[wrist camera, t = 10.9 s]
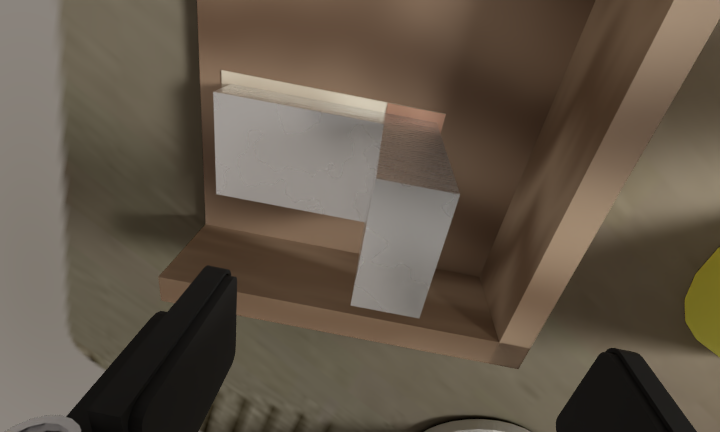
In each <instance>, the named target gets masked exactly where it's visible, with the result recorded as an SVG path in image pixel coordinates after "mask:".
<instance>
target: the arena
mask: <svg viewBox="0 0 720 432" xmlns="http://www.w3.org/2000/svg"><path fill="white" fill-rule="evenodd" d="M197 15H198V41H199V66H200V92H201V118H202V143H203V169H204V195H205V220H206V224H205V225H204V226H203V228H202V229H201V230H200V231H199V232H198V233H197V234H196V235H195V237H194V238H193V239H192V240H191V241H190V242H189V243H188V244H187V245H186V247H185V248H184V249H183V250H182V251H181V252H180V253H179V254H178V255H177V257H176V258H175V259H174V260H173V261H172V262H171V263H170V264H169V266H168V267H167V268H166V269H165V270H164V271H163V272H162V273H161V274H160V276H159V277H158V278H159V286H160V294H161V300H162V301H167V302H172V303H175V302H176V301H177V300H178V299H179V297H180V296H181V295H182V294H183V293H184V291H185V290H186V289H187V288H188V287H189V285H190V284H191V283H192V282H193V280H194V279H195V278H196V277H197V276H198V274H199V273H200V272H201V271H202V269H203V268H204V267H205V266H207V265H209V266H214V267H219V268H224V269H229V270H230V271H231V276H234V277H237V310H236V315H240V316H245V317H250V318H255V319H260V320H266V321H271V322H276V323H281V324H286V325H292V326H297V327H302V328H307V329H312V330H318V331H323V332H328V333H333V334H338V335H344V336H349V337H354V338H359V339H364V340H370V341H375V342H380V343H385V344H391V345H396V346H401V347H406V348H411V349H417V350H422V351H427V352H432V353H437V354H443V355H448V356H453V357H458V358H463V359H469V360H474V361H479V362H484V363H489V364H495V365H500V366H505V367H510V368H515V369H519V367H520V365H521V364H522V362H523V360H524V358H525V357H526V355H527V353H528V351H529V350H530V348H531V346H532V344H533V343H534V341H535V339H536V338H537V336H538V334H539V332H540V331H541V329H542V327H543V325H544V324H545V322H546V320H547V318H548V317H549V315H550V313H551V311H552V310H553V308H554V306H555V304H556V303H557V301H558V299H559V298H560V296H561V294H562V292H563V291H564V289H565V287H566V285H567V284H568V282H569V280H570V278H571V277H572V275H573V273H574V271H575V270H576V268H577V266H578V264H579V263H580V261H581V259H582V257H583V256H584V254H585V252H586V251H587V249H588V247H589V245H590V244H591V242H592V240H593V238H594V237H595V235H596V233H597V231H598V230H599V228H600V226H601V224H602V223H603V221H604V219H605V217H606V216H607V214H608V212H609V211H610V209H611V207H612V205H613V204H614V202H615V200H616V198H617V197H618V195H619V193H620V191H621V190H622V188H623V186H624V184H625V183H626V181H627V179H628V177H629V176H630V174H631V172H632V171H633V169H634V167H635V165H636V164H637V162H638V160H639V158H640V157H641V155H642V153H643V151H644V150H645V148H646V146H647V144H648V143H649V141H650V139H651V137H652V136H653V134H654V132H655V131H656V129H657V127H658V125H659V124H660V122H661V120H662V118H663V117H664V115H665V113H666V111H667V110H668V108H669V106H670V104H671V103H672V101H673V99H674V97H675V96H676V94H677V92H678V91H679V89H680V87H681V85H682V84H683V82H684V80H685V78H686V77H687V75H688V73H689V71H690V70H691V68H692V66H693V64H694V63H695V61H696V59H697V57H698V56H699V54H700V52H701V51H702V49H703V47H704V45H705V44H706V42H707V40H708V38H709V37H710V35H711V33H712V31H713V30H714V28H715V26H716V24H717V23H718V21H719V19H720V0H197ZM230 84H236V85H241V86H246V87H251V88H257V89H262V90H267V91H273V92H278V93H283V94H288V95H294V96H299V97H304V98H310V99H315V100H320V101H325V102H331V103H336V104H341V105H347V106H352V107H357V108H362V109H368V110H373V111H378V112H384V113H389V114H394V115H399V116H405V117H410V118H415V119H421V120H426V121H431V122H436V123H437V125H438V128H439V131H440V134H441V137H442V140H443V143H444V146H445V150H446V153H447V156H448V159H449V162H450V165H451V168H452V171H453V174H454V177H455V180H456V183H457V186H458V189H459V192H460V197H459V200H458V203H457V206H456V209H455V212H454V215H453V218H452V221H451V224H450V227H449V230H448V233H447V236H446V239H445V242H444V245H443V248H442V251H441V254H440V257H439V260H438V263H437V266H436V269H435V272H434V275H433V278H432V281H431V284H430V287H429V290H428V293H427V296H426V300H425V303H424V306H423V309H422V312H421V315H420V318H414V317H409V316H403V315H398V314H393V313H388V312H382V311H377V310H372V309H367V308H361V307H356V306H351V299H352V293H353V287H354V281H355V275H356V269H357V263H358V257H359V251H360V245H361V239H362V234H363V228H364V222H360V221H355V220H350V219H345V218H339V217H334V216H329V215H324V214H318V213H313V212H308V211H303V210H297V209H292V208H287V207H281V206H276V205H271V204H266V203H260V202H255V201H250V200H245V199H239V198H234V197H229V196H224V195H218V194H216V167H215V134H214V101H213V92H214V91H216V90H218V89H221V88H223V87H225V86H227V85H230Z"/></svg>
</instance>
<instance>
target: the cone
mask: <svg viewBox="0 0 720 432" xmlns="http://www.w3.org/2000/svg"><path fill="white" fill-rule="evenodd" d="M685 322H686V324H687V325H688V327H689V328H690V330H691V332H692V333H693V335H694V337H695V338H696V340H698V341H699V342H700V343H702V344H703V345H704V346H706V347H707V348H708V349H709V350H711V351H712V352H713V353H715V354H716V355H717V356H719V357H720V247H719V248H718V249H717V250H716V251H715V252H714V253H713V255H712V256H711V257H710V258H709V259H708V260H707V261H706V263H705V264H704V265H703V266H702V267H701V268H700V269H699V271H698V272H697V273H696V274H695V276H694V279H693V281H692V283H691V286H690V288H689V290H688V293H687V295H686V297H685Z"/></svg>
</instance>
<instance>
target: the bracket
mask: <svg viewBox="0 0 720 432" xmlns="http://www.w3.org/2000/svg"><path fill="white" fill-rule="evenodd" d="M213 101H214V134H215V167H216V194H218V195H224V196H229V197H234V198H239V199H245V200H250V201H255V202H260V203H266V204H271V205H276V206H281V207H287V208H292V209H297V210H303V211H308V212H313V213H318V214H324V215H329V216H334V217H339V218H345V219H350V220H355V221H360V222H364V228H363V234H362V239H361V245H360V251H359V257H358V263H357V269H356V275H355V281H354V287H353V293H352V299H351V306H356V307H361V308H367V309H372V310H377V311H382V312H388V313H393V314H398V315H403V316H409V317H414V318H420V315H421V312H422V309H423V306H424V303H425V300H426V296H427V293H428V290H429V287H430V284H431V281H432V278H433V275H434V272H435V269H436V266H437V263H438V260H439V257H440V254H441V251H442V248H443V245H444V242H445V239H446V236H447V233H448V230H449V227H450V224H451V221H452V218H453V215H454V212H455V209H456V206H457V203H458V200H459V197H460V192H459V189H458V186H457V183H456V180H455V177H454V174H453V171H452V168H451V165H450V162H449V159H448V156H447V153H446V150H445V146H444V143H443V140H442V137H441V134H440V131H439V128H438V125H437V123H436V122H431V121H426V120H421V119H415V118H410V117H405V116H399V115H394V114H389V113H384V112H378V111H373V110H368V109H362V108H357V107H352V106H347V105H341V104H336V103H331V102H325V101H320V100H315V99H310V98H304V97H299V96H294V95H288V94H283V93H278V92H273V91H267V90H262V89H257V88H251V87H246V86H241V85H236V84H230V85H227V86H225V87H223V88H221V89H218V90H216V91H214V92H213Z"/></svg>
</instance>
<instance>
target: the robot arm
mask: <svg viewBox="0 0 720 432" xmlns="http://www.w3.org/2000/svg"><path fill="white" fill-rule="evenodd" d="M236 310H237V277H234V276H231V271H230V270H229V269H224V268H219V267H214V266H209V265H207V266H205V267H204V268H203V269H202V271H201V272H200V273H199V274H198V276H197V277H196V278H195V279H194V280H193V282H192V283H191V284H190V285H189V287H188V288H187V289H186V290H185V291H184V293H183V294H182V295H181V296H180V297H179V299H178V300H177V301H176V302H175V304H174V305H173V306H172V307H171V308H170V310H169V311H168V312H164V311H160V312H158V313H156V314H155V315H154V316H153V317H152V318H151V319H150V320H149V321H148V322H147V323H146V324H145V326H144V327H143V328H142V329H141V330H140V331H139V333H138V334H137V335H136V336H135V337H134V338H133V340H132V341H131V342H130V343H129V344H128V345H127V347H126V348H125V349H124V350H123V351H122V352H121V354H120V355H119V356H118V357H117V358H116V359H115V361H114V362H113V363H112V364H111V365H110V366H109V368H108V369H107V370H106V371H105V372H104V373H103V375H102V376H101V377H100V378H99V379H98V380H97V382H96V383H95V384H94V385H93V386H92V387H91V389H90V390H89V391H88V392H87V393H86V394H85V396H84V397H83V398H82V399H81V400H80V401H79V403H78V404H77V405H76V406H75V407H74V408H73V409H72V411H71V412H70V413H69V414H68V415H67V416H66V417H65V416H61V415H46V416H41V417H37V418H33V419H29V420H27V421H25V422H22V423H20V424H18V425H16V426H13V427H12V428H10V429H8V430H7V431H5V432H198V431H199V429H200V427H201V425H202V423H203V421H204V419H205V417H206V415H207V413H208V411H209V409H210V407H211V405H212V403H213V401H214V399H215V397H216V395H217V393H218V391H219V389H220V387H221V385H222V383H223V381H224V379H225V377H226V375H227V373H228V371H229V369H230V367H231V365H232V363H233V360H234V356H235V348H236ZM556 431H557V432H697V431H696V430H695V429H694V427H693V426H692V425H691V423H690V422H689V421H688V419H687V418H686V416H685V415H684V414H683V412H682V411H681V410H680V408H679V407H678V405H677V404H676V403H675V401H674V400H673V399H672V397H671V396H670V394H669V393H668V392H667V390H666V389H665V388H664V386H663V385H662V383H661V382H660V381H659V379H658V378H657V377H656V375H655V374H654V372H653V371H652V370H651V368H650V367H649V366H648V364H647V363H646V361H645V360H644V359H643V358H642V357H641V355H640V354H638V353H636V352H631V351H626V350H621V349H616V348H610V349H608V350H607V351H606V352H603V353H601V354H600V355H599V356H598V357H597V359H596V360H595V362H594V363H593V365H592V366H591V368H590V369H589V371H588V372H587V374H586V375H585V377H584V378H583V380H582V381H581V383H580V384H579V386H578V387H577V389H576V390H575V392H574V393H573V395H572V396H571V398H570V399H569V401H568V402H567V404H566V405H565V407H564V408H563V410H562V411H561V413H560V414H559V416H558V417H557V420H556ZM424 432H530V431H528V430H527V429H525V428H522V427H519V426H517V425H514V424H511V423H506V422H502V421H497V420H487V419H465V420H457V421H451V422H447V423H444V424H440V425H437V426H435V427H432V428H430V429H427V430H426V431H424Z"/></svg>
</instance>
